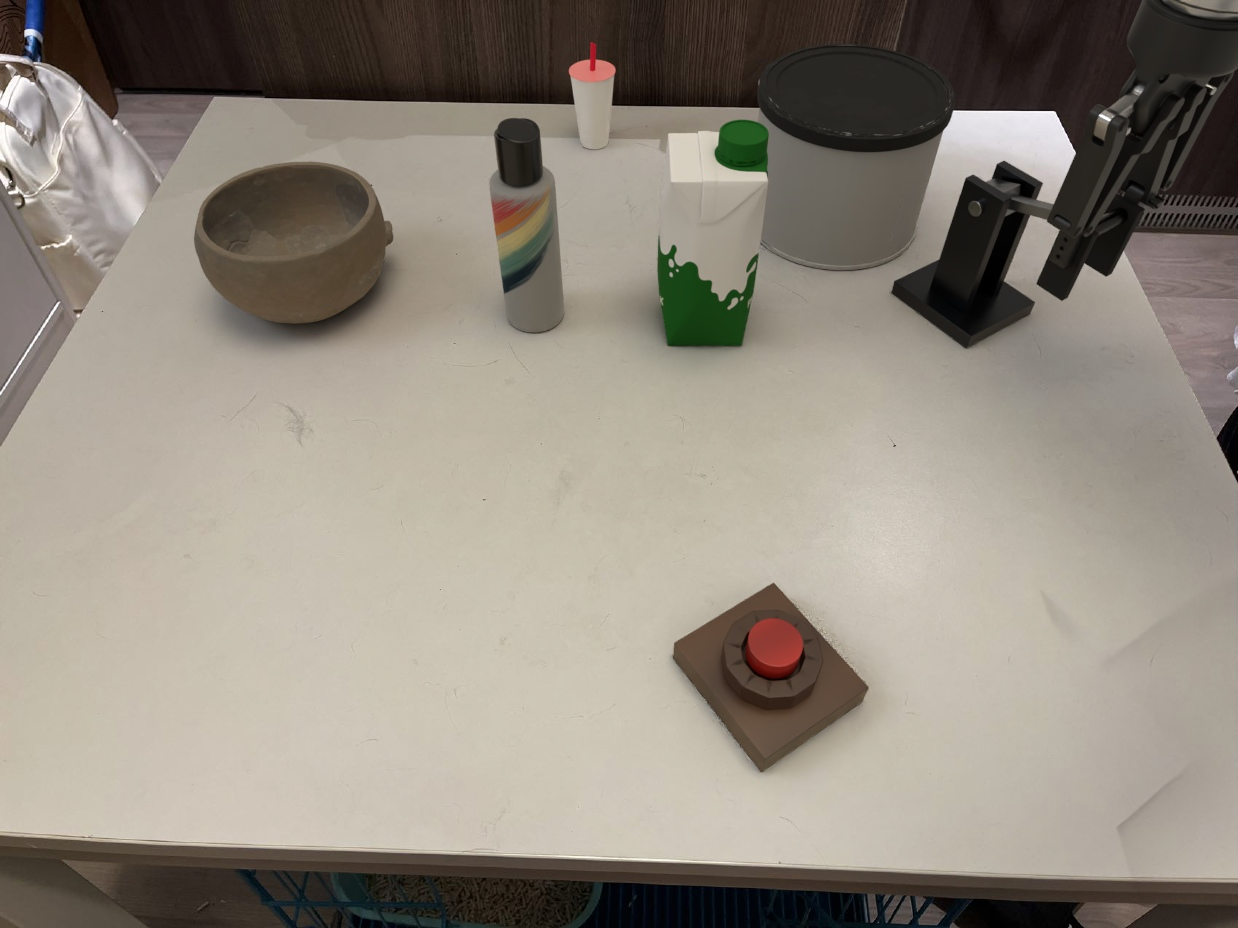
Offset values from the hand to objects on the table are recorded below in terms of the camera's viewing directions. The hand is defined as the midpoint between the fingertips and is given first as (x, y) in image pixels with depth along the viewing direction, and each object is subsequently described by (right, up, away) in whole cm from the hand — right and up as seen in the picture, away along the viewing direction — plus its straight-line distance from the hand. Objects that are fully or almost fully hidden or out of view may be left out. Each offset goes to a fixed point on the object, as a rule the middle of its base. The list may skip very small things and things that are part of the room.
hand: (1074, 278), depth 76 cm
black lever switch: (-5, 0, +12) cm, 13 cm away
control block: (-29, -31, -14) cm, 44 cm away
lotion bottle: (-47, -1, +12) cm, 49 cm away
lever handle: (-3, +5, 0) cm, 6 cm away
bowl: (-70, +2, +15) cm, 72 cm away
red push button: (-29, -29, -17) cm, 44 cm away
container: (-16, +11, +22) cm, 29 cm away
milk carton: (-31, -2, +11) cm, 33 cm away
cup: (-42, +23, +32) cm, 58 cm away
